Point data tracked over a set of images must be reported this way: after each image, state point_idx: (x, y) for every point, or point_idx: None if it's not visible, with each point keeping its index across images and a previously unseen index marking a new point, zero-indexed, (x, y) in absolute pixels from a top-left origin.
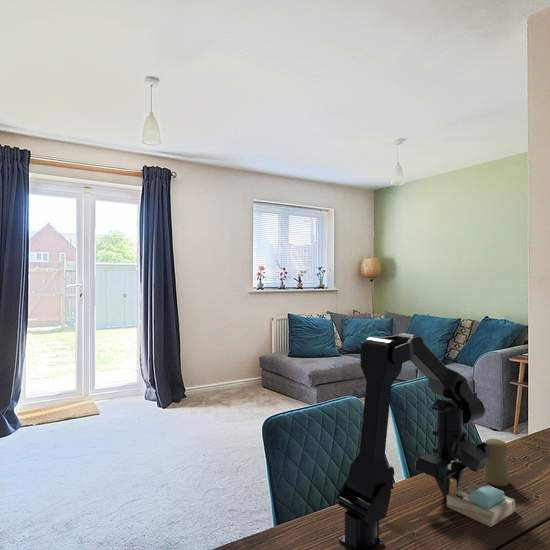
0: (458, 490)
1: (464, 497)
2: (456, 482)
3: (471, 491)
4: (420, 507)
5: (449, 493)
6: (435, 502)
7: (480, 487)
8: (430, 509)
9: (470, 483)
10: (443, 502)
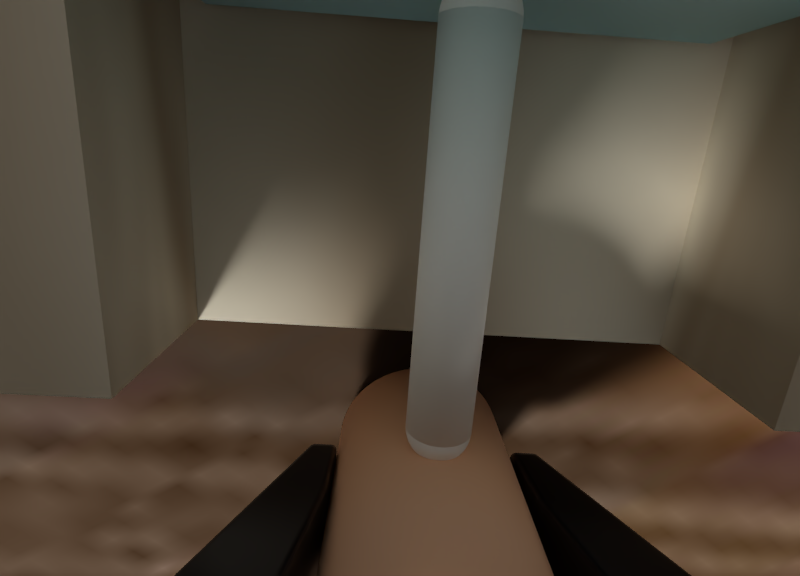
0: (454, 408)
1: (321, 318)
2: (391, 551)
3: (167, 298)
4: (793, 522)
5: (509, 468)
6: (590, 487)
7: (24, 156)
8: (771, 447)
9: (58, 387)
10: (528, 438)
